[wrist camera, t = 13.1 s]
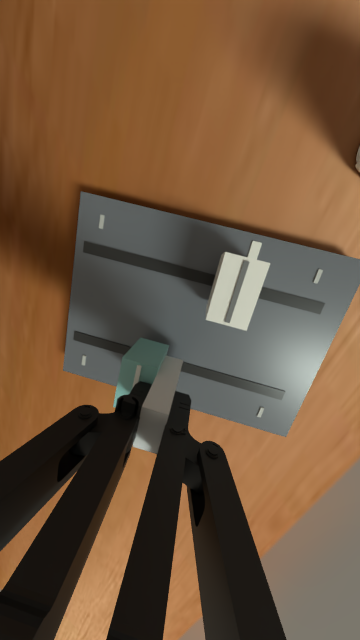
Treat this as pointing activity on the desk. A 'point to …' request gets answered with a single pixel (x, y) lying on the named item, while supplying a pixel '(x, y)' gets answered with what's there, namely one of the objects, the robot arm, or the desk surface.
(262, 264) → the ivory fader
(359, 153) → the photo printer
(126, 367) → the teal fader
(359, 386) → the desk surface
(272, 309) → the console
